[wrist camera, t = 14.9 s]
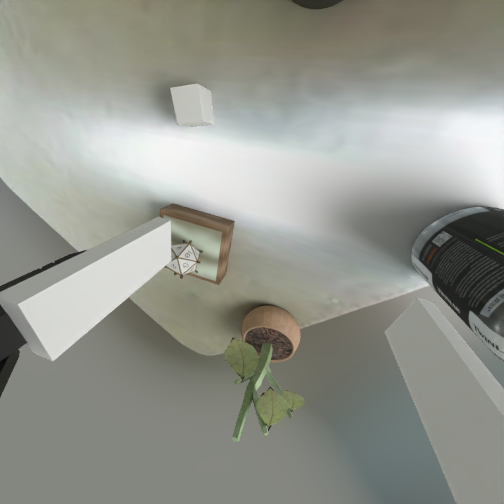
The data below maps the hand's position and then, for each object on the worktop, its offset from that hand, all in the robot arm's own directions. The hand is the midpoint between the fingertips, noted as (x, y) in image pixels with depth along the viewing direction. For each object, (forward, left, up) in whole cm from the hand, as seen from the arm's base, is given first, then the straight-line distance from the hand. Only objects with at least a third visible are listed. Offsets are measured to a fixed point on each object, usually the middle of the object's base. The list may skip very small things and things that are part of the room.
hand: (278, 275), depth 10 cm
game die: (+20, -19, -28) cm, 39 cm away
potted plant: (+38, +4, -33) cm, 50 cm away
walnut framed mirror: (+20, -20, -33) cm, 43 cm away
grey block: (-8, -22, -33) cm, 40 cm away
